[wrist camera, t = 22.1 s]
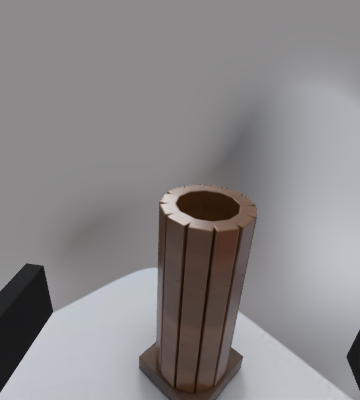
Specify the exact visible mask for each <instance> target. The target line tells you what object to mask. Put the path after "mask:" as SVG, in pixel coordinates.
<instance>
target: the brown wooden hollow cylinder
mask: <svg viewBox="0 0 360 400" xmlns="http://www.w3.org/2000/svg"><path fill="white" fill-rule="evenodd" d="M256 219H257V208H256V207H255V204H254V203H253V202H252V201H251V200H250V199H249V198H248V197H246V196H243V194H241V193H239V192H237V191H234V190H231V189H229V188H225V189H223V187H219V186H212V185H204V187H203V186H202V185H201V184H199V185H187V186H184V187H178V188H175V189H173V190H171V191H168V192H167V193H166V194H164V196H163V198H162V199H161V201H160V203H159V243H158V246H159V247H158V292H157V341H156V360H157V364H158V368H159V372H160V373H161V376H162V377H163V378H164V379H165V380H166V381H167V382H168V383H169V384H170V385H171V386H172V387H174V386H175V385H176V389H177V390H181V391H185V392H189V393H193V392H194V389H195V392H196V393H200V392H203V391H206V390H210V389H212V386H214V387H215V386H216V385H217V384H218V383H219V381H220V380H221V379H222V378H223V376H224V375H225V372H226V368H227V363H228V358H229V353H230V349H231V344H232V339H233V334H234V329H235V324H236V319H237V314H238V309H239V304H240V298H241V293H242V289H243V284H244V279H245V274H246V268H247V263H248V259H249V254H250V249H251V244H252V239H253V234H254V229H255V224H256Z"/></svg>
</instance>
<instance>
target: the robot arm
mask: <svg viewBox="0 0 360 400" xmlns="http://www.w3.org/2000/svg"><path fill="white" fill-rule="evenodd" d="M52 313H53V309H52V304H51V300H50V295H49V290H48V285H47V281H46V276H45V271H44V266H40V265H33V264H26V265H25V266H24V267H23V268H22V269H21V270H20V271H19V272H18V273H17V274H16V275H15V276H14V277H13V278H12V280H11V281H10V282H9V283H8V284H7V285H6V286H5V287H4V288H3V289H2V290H1V291H0V392H1V390H2V389H3V387H4V386H5V384H6V383H7V381H8V380H9V378H10V377H11V375H12V374H13V372H14V371H15V369H16V368H17V366H18V365H19V363H20V362H21V360H22V359H23V357H24V355H25V354H26V352H27V351H28V349H29V348H30V346H31V345H32V343H33V342H34V340H35V339H36V337H37V336H38V334H39V333H40V331H41V330H42V328H43V327H44V325H45V323H46V322H47V320H48V319H49V317H50V316H51V314H52ZM347 359H348V362H349V364H350V367H351V369H352V372H353V375H354V377H355V380H356V382H357V385H358V387H359V390H360V330H359V332H358V334H357V336H356V339H355V340H354V342H353V344H352V346H351V349H350V350H349V352H348V354H347Z"/></svg>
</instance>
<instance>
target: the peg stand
mask: <svg viewBox="0 0 360 400" xmlns="http://www.w3.org/2000/svg"><path fill="white" fill-rule="evenodd" d="M242 359H243V356H242V355H240V354H239V353H238V352H237V351H235V350H234V349H233V348H231V349H230V353H229V358H228V363H227V368H226V372H225V375H224V376H223V378H222V379H221V380H220V381H219V383H218V384H217V385H216V386H215V387H214V386H212V389H210V390H206V391H203V392H200V393H196V392H195V389H194V392H193V393H189V392H185V391H181V390H177V389H176V385H175V386H174V387H172V386H171V385H170V384H169V383H168V382H167V381H166V380H165V379H164V378H163V377H162V376H161V373H160V372H159V368H158V364H157V360H156V343H155V344H153V345H152V346H151V347H150V348H149V349H148V350H146V351H145V352H144V353H143V354H142V355H141V356H140V357H139V368H140V369H141V370H142V371H143V372H144V373H145V374H146V375H147V376H148V377H149V379H150V380H151V381H152V382H153V383H154V384H155V385H156V386H157V387H158V388H159V389H160V390H161V391H162V392H163V393H164V394H165V395H166V397H167V398H168V399H169V400H216V398H217V397H218V396H219V395H220V393H221V392H222V391H223V389H224V388H225V387H226V386H227V384H228V383H229V382H230V381H231V379H232V378H233V377H234V375H235V374H236V373H237V372H238V370H239V369H240V368H241V363H242Z"/></svg>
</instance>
